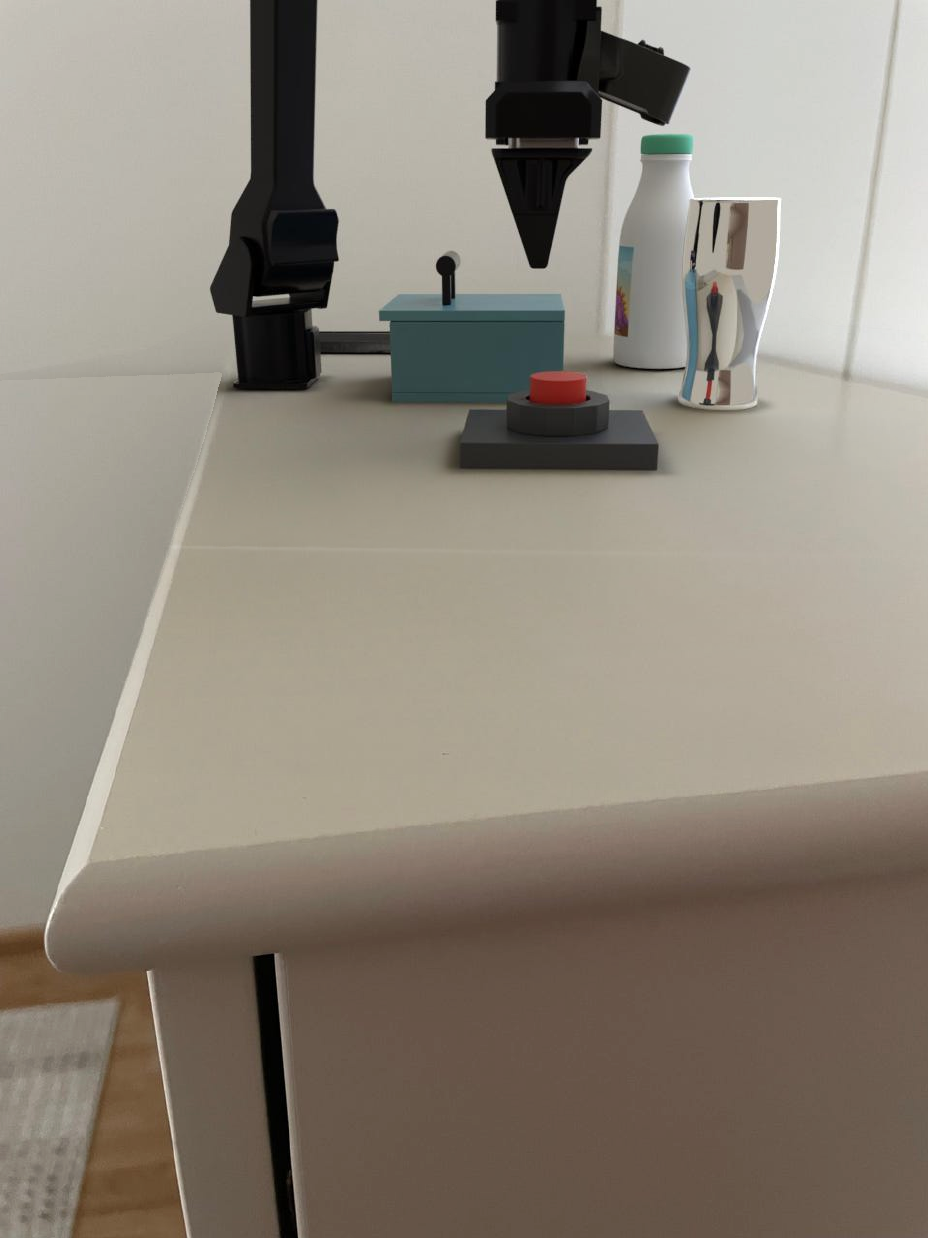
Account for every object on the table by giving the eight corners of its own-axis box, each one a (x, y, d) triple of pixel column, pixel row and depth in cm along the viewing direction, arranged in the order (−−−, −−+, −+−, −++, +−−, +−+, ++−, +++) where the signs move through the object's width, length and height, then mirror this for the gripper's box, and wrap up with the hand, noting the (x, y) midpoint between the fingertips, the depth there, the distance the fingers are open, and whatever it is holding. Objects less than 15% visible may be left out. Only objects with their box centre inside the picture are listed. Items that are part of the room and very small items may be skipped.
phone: (296, 331, 114) (432, 330, 113) (297, 341, 114) (432, 341, 114) (280, 341, 107) (425, 341, 106) (281, 352, 107) (426, 352, 106)
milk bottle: (706, 361, 100) (724, 134, 93) (676, 373, 94) (693, 131, 87) (632, 355, 104) (644, 136, 97) (599, 366, 98) (609, 134, 91)
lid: (379, 320, 81) (376, 258, 79) (398, 303, 92) (396, 248, 90) (564, 320, 80) (566, 257, 78) (560, 303, 91) (562, 247, 90)
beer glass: (765, 413, 78) (788, 198, 72) (671, 410, 79) (686, 199, 73) (760, 396, 84) (780, 197, 78) (673, 393, 86) (686, 197, 80)
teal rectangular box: (392, 402, 83) (389, 321, 81) (409, 375, 95) (407, 303, 92) (562, 403, 82) (564, 321, 80) (558, 375, 94) (560, 303, 91)
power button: (529, 408, 65) (530, 380, 64) (529, 397, 68) (530, 370, 68) (587, 409, 65) (588, 380, 64) (584, 397, 68) (585, 370, 67)
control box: (460, 469, 64) (459, 412, 62) (469, 433, 73) (468, 383, 71) (657, 471, 63) (660, 414, 62) (641, 434, 72) (644, 383, 71)
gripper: (711, -47, 51) (684, 283, 57) (667, 7, 68) (650, 257, 75) (486, -44, 52) (483, 282, 58) (499, 9, 69) (496, 256, 75)
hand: (538, 267), depth 66 cm, fingers closed
